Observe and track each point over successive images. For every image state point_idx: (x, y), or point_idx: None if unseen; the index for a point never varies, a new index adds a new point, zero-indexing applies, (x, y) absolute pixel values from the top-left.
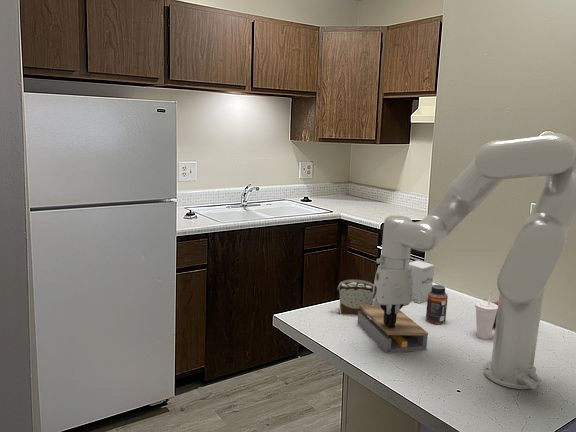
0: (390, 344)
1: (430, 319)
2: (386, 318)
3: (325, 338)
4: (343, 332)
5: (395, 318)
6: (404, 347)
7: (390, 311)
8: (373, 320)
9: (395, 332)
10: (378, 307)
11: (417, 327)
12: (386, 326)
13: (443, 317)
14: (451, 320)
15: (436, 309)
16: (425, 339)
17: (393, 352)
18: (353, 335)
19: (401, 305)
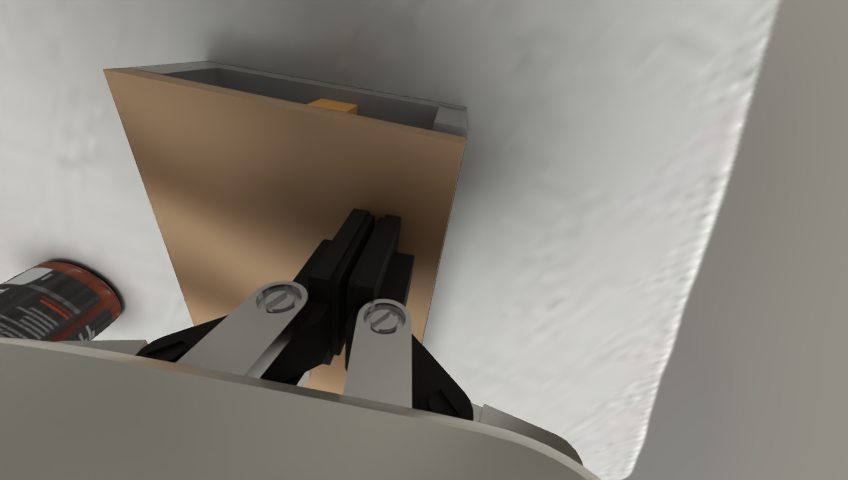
0: (442, 113)
1: (95, 294)
2: (407, 282)
3: (620, 337)
4: (510, 347)
5: (316, 261)
6: (339, 98)
7: (362, 320)
8: (422, 340)
9: (395, 130)
10: (507, 416)
11: (168, 179)
12: (406, 242)
13: (16, 278)
14: (10, 270)
15: (7, 319)
16: (166, 68)
17: (421, 99)
18: (490, 316)
19: (167, 354)
